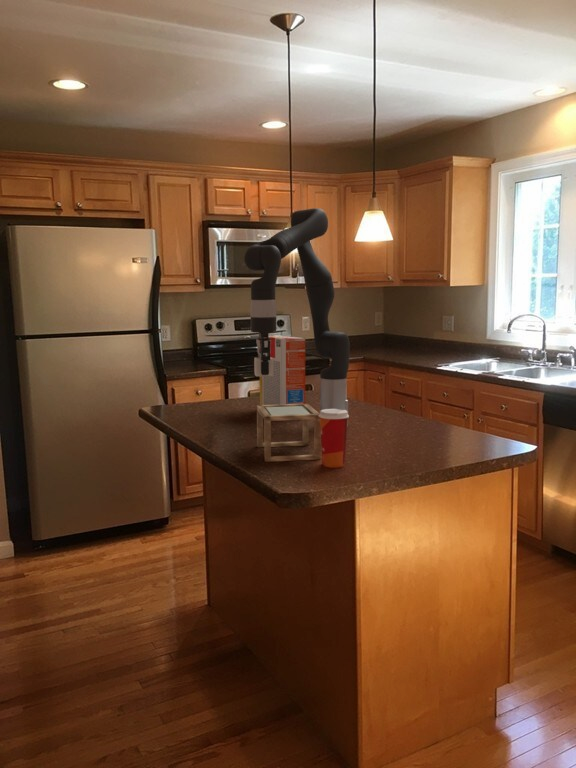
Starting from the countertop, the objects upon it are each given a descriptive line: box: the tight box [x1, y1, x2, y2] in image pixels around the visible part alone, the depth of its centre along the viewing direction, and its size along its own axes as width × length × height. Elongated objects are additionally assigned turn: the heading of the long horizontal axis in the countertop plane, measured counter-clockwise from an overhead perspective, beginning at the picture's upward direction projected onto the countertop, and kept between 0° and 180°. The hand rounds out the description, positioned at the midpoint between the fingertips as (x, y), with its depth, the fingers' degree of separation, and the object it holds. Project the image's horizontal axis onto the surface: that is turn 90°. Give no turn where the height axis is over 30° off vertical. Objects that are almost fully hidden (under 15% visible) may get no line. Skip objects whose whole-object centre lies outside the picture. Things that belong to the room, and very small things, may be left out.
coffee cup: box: [319, 409, 350, 469], centre depth 176 cm, size 8×8×15 cm
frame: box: [256, 403, 322, 463], centre depth 190 cm, size 16×19×13 cm
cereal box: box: [259, 334, 306, 405], centre depth 250 cm, size 23×8×30 cm, turn 27°
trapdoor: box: [266, 406, 310, 415], centre depth 189 cm, size 12×15×1 cm
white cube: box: [253, 356, 273, 377], centre depth 190 cm, size 5×5×5 cm
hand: (264, 373), depth 190 cm, fingers closed on white cube, 5 cm apart
